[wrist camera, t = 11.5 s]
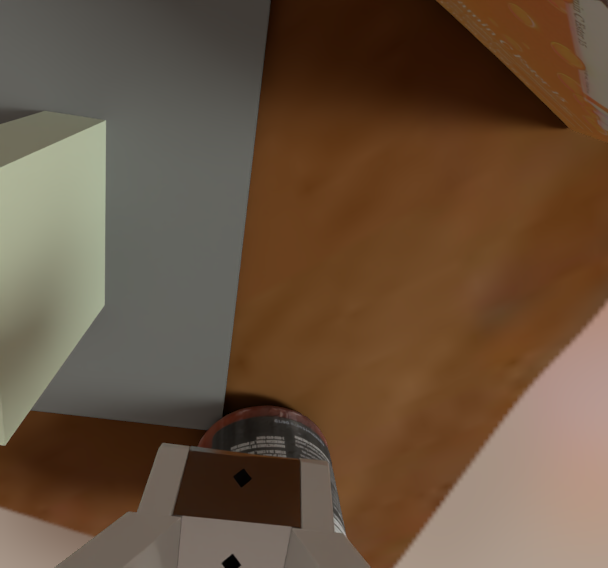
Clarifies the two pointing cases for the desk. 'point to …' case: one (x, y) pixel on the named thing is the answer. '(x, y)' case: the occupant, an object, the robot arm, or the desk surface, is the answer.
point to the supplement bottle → (273, 440)
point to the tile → (47, 250)
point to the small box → (549, 52)
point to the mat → (151, 187)
